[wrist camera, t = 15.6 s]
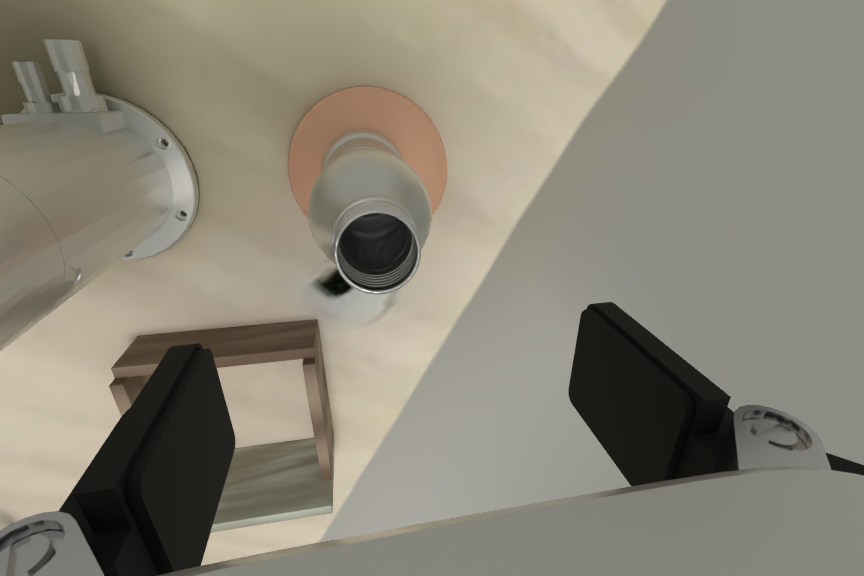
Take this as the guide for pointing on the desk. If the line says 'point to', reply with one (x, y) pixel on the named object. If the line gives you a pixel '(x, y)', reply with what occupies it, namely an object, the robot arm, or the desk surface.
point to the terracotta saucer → (370, 112)
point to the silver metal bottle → (369, 211)
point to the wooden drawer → (266, 464)
